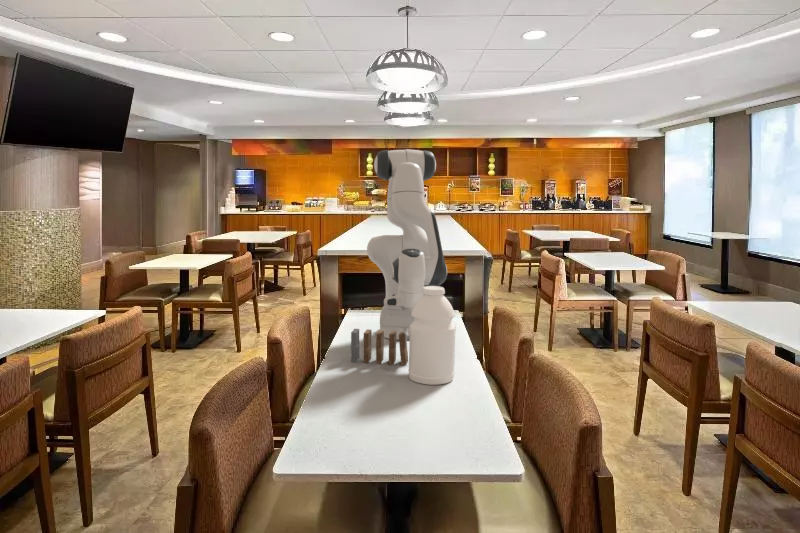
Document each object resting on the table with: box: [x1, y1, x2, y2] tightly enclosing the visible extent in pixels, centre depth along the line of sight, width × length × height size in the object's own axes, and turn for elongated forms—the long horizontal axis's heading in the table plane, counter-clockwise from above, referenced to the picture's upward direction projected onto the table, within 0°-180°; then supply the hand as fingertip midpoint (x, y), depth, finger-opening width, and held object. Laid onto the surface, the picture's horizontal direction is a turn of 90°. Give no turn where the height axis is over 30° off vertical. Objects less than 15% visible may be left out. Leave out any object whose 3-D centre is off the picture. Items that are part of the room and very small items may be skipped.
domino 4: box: [398, 331, 409, 366], centre depth 192 cm, size 2×5×10 cm, turn 171°
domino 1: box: [362, 328, 372, 364], centre depth 194 cm, size 2×5×10 cm, turn 172°
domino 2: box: [375, 329, 385, 365], centre depth 193 cm, size 2×5×10 cm, turn 171°
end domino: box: [350, 328, 360, 363], centre depth 195 cm, size 2×5×10 cm, turn 171°
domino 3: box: [388, 331, 397, 366], centre depth 193 cm, size 2×5×10 cm, turn 172°
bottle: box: [408, 285, 457, 386], centre depth 177 cm, size 14×14×28 cm
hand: (410, 340), depth 192 cm, fingers closed
